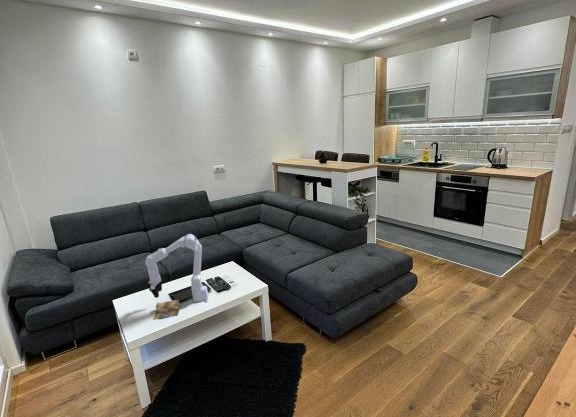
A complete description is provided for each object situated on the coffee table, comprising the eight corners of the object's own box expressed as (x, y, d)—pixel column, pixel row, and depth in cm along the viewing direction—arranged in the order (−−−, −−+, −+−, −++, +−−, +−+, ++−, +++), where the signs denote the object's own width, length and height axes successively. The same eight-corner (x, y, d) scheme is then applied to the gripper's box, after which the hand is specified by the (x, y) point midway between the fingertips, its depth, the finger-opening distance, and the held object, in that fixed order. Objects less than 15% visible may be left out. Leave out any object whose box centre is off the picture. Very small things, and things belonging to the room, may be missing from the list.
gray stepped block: (171, 313, 184) (170, 309, 183) (169, 316, 180) (169, 313, 179) (162, 314, 183) (161, 311, 182) (160, 318, 179) (160, 314, 179)
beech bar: (179, 305, 191) (178, 299, 190) (178, 308, 188) (177, 303, 187) (158, 308, 190) (157, 303, 189) (156, 312, 186) (155, 306, 185)
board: (180, 306, 191) (180, 305, 191) (177, 316, 181) (177, 315, 181) (157, 310, 189) (157, 309, 189) (153, 320, 179) (152, 319, 178)
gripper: (150, 270, 191) (154, 289, 195) (143, 280, 178) (148, 301, 181) (161, 268, 192) (166, 287, 196) (156, 278, 179) (160, 299, 182)
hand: (158, 294), depth 188 cm, fingers open, 7 cm apart
